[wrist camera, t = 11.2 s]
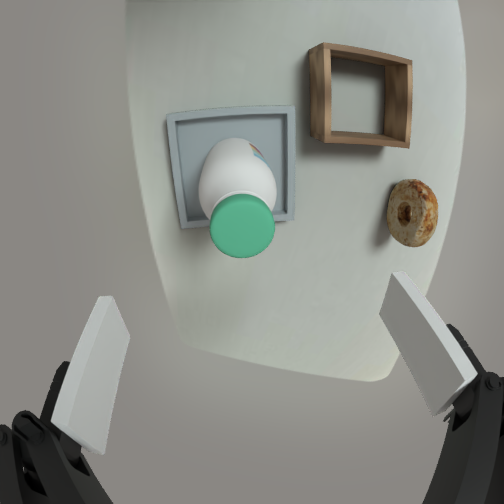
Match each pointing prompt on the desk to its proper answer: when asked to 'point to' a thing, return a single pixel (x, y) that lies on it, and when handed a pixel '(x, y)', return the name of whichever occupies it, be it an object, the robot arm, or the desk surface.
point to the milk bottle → (238, 198)
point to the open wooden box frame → (395, 96)
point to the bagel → (423, 213)
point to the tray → (223, 127)
